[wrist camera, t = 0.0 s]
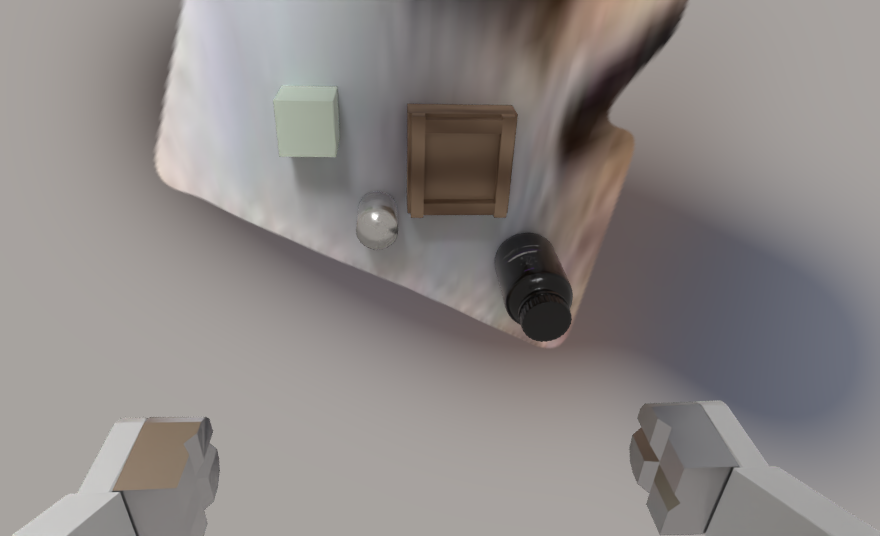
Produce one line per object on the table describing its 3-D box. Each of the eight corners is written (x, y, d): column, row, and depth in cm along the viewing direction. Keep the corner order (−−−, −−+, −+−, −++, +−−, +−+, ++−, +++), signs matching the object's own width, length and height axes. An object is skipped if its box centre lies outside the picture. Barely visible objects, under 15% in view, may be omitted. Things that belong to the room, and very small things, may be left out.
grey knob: (357, 191, 60) (355, 212, 56) (397, 191, 61) (397, 212, 56) (359, 226, 62) (357, 249, 58) (397, 226, 63) (397, 249, 58)
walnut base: (407, 103, 56) (408, 116, 53) (511, 105, 57) (519, 117, 53) (406, 200, 61) (408, 217, 58) (502, 200, 62) (509, 217, 59)
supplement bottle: (516, 220, 63) (541, 280, 53) (566, 247, 66) (599, 310, 55) (480, 267, 66) (497, 333, 56) (529, 292, 68) (554, 360, 58)
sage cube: (282, 85, 54) (273, 100, 50) (337, 86, 55) (333, 101, 51) (287, 138, 57) (279, 156, 53) (340, 138, 57) (336, 157, 53)
